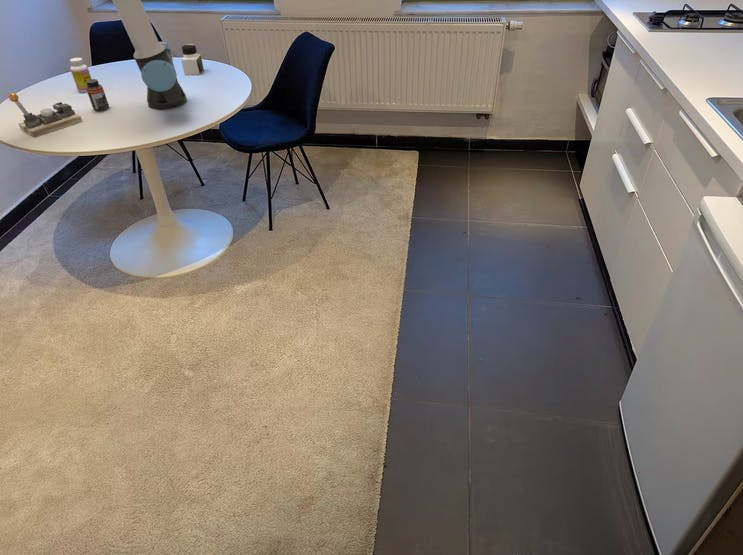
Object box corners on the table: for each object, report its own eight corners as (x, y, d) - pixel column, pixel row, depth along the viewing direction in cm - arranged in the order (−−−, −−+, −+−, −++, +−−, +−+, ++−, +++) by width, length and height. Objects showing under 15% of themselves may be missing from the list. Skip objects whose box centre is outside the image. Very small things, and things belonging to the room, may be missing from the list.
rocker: (72, 109, 206) (71, 105, 205) (58, 111, 202) (57, 107, 202) (67, 107, 208) (66, 103, 207) (53, 108, 204) (52, 104, 204)
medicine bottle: (200, 75, 245) (194, 47, 238) (184, 75, 246) (177, 47, 238) (204, 69, 251) (198, 42, 243) (188, 70, 251) (182, 43, 244)
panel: (82, 121, 207) (76, 106, 203) (34, 137, 196) (27, 121, 192) (67, 113, 213) (61, 98, 209) (20, 129, 202) (13, 113, 198)
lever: (36, 117, 198) (16, 92, 190) (28, 122, 197) (8, 96, 189) (32, 115, 199) (12, 90, 191) (25, 120, 198) (4, 95, 190)
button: (56, 116, 202) (53, 110, 201) (45, 119, 200) (42, 113, 199) (51, 113, 205) (48, 107, 203) (40, 117, 202) (38, 110, 201)
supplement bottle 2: (93, 107, 217) (83, 79, 210) (109, 105, 219) (100, 76, 212) (93, 112, 213) (83, 84, 206) (109, 110, 215) (100, 81, 208)
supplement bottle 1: (88, 93, 230) (77, 62, 222) (75, 92, 232) (63, 61, 224) (98, 87, 236) (87, 57, 227) (84, 86, 237) (73, 56, 229)
